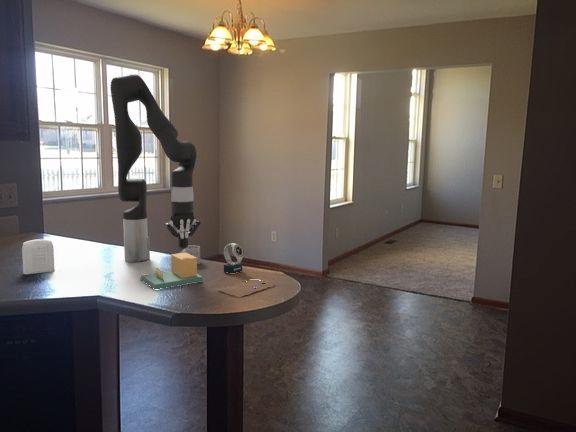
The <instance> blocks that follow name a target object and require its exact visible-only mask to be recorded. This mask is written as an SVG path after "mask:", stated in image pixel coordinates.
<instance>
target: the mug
mask: <svg viewBox="0 0 576 432" xmlns="http://www.w3.org/2000/svg"><path fill="white" fill-rule="evenodd" d="M179 253H188V254H190V255H192V256H194V257H196V258H197V264H198V265H200V264H201V246H200V245H193V244H192V245H191V244H190V245H189V244H188V246H187V248H186V249H182V251H180V252H179Z"/></svg>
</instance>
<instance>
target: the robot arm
mask: <svg viewBox="0 0 576 432" xmlns="http://www.w3.org/2000/svg"><path fill="white" fill-rule="evenodd" d="M110 81H111V82H110V95H111V102H112V108H113V114H114V126H115V145H116V156H117V168H118V169H117V170H118V171H117V174H118V176H117V180H118V181H117V190H118V198H119V200H120V201H121V202H131V203H133V202H135V203H137V202H138V203H137V204H136V205H135V206H134V207H131V208H129V209H126V210H124V211H123V213H122V219H123V220H122V222H123V223H122V224H123V247H124V248H123V251H124V253H123V254H124V261H126V262H129V263H130V262H132V263H133V262H134V263H135V262H144V261H147V260H151V259H150V258H151V257H150V256H151V255H150V251H151V250H150V249H151V248H150V236H148V213H147V212H148V211H147V200H148V199H147V196H148V191H147V189H148V188H147V186H148V185H147V182H146V179H144V178H128V176H129V173H130V171H131V168H132V167H133V166H134V165H135V164H136V162H137V160H138V159H139V158H140V156H141V154H142V151H143V142H142V140H143V139H142V137H143V136H142V133H141V130H140V129H139V128H138V126H137V125H136V124H135V123H134V121H133V120H132V119H131V117H130V115H129V110H128V107H129V106H128V104H129V103H132V102H137V101H139V102H141V104H142V105H143V106H144V107H145V110H146V111H145V112H146V121H147V125H148V128H149V130H150V131H151V133H152V134H153V135H154V136H155V137H156V139H157V140H158V141H159V142H160V145H161V148H162V149H163V152H164V154H165V155H166V157H167V158H168V159H169V160H170V161H172V162H174V163H178V166H177V168H175V169H174V170H172V172H171V191H170V194H171V197H170V198H171V199H170V200H171V201H170V202H171V203H170V204H171V217H170V220H169V221H168V222H165V223H164V226H165V228H166V229H167V230H168V231H169V233H170V234H171V235H172V236H173V237H175V238H178V247H179V248H180V249H182V250H183V249H186V248H187V246H189V242H188V241H189V240H188V239H189V237H192V236H193V235H194V234H195V233H196V231H197V230H198V228H199V226H200V225H201V221H200V220H197V219H196V216H195V214H194V210H195V209H194V207H195V206H194V199H195V198H194V197H195V196H194V189H193V173H194V170H195V166H196V162H197V161H196V160H197V149H196V147H195V144H193V143H192V142H191V141H183V140H182V141H180V140H178V139H177V138H178V137H179V136H178V135H179V133H178V130H177V128H176V127H175V125H173V123H172V122H171V121H170V120H169V119H168V117H167V115H165V113H164V112H163V111H162V109H161V108H160V106H159V104H158V101H157V100H156V99H155V97H154V95H153V93H152V92H151V90H150V88H149V87H148V85H147V83H146V81H144V79H143V78H142V77H141V76H140V75H139V74H136V73H135V74H134V73H130V74H125V75H120V76H118V75H117V76H115V77H113V78H112V79H111V80H110ZM174 227H175V228H176V229H174Z"/></svg>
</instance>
